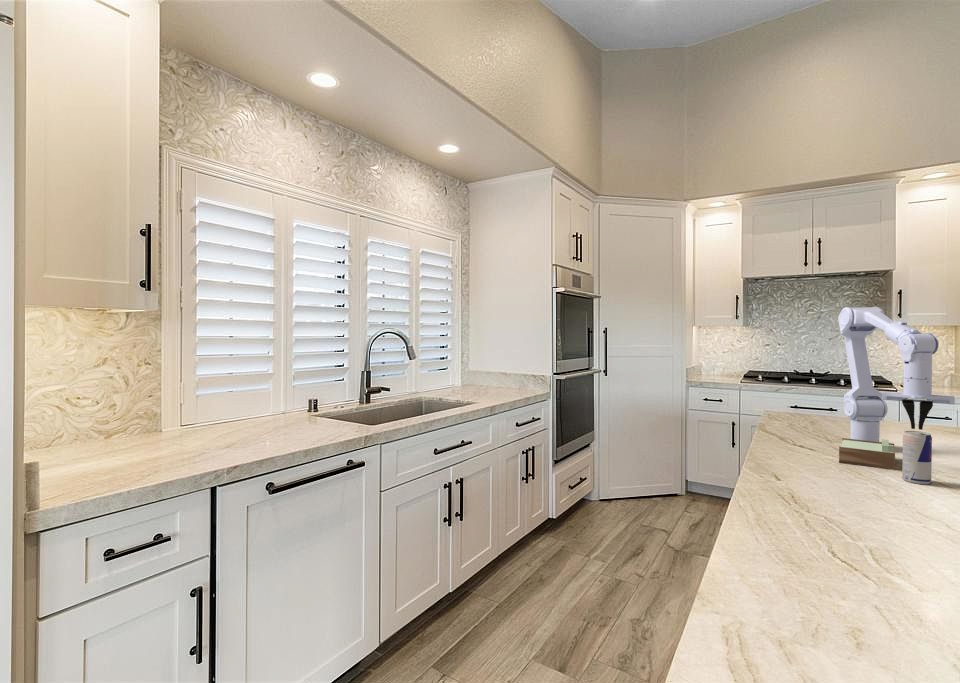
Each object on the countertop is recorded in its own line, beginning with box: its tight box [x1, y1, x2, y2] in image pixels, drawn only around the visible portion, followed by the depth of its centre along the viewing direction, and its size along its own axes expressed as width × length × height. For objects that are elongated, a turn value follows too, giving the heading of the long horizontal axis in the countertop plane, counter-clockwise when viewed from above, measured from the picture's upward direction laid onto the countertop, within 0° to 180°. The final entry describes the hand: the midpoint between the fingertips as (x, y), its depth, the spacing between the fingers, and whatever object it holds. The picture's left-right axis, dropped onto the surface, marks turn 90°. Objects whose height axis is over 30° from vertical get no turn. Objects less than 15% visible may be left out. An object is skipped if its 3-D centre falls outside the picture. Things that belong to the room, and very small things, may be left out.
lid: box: [840, 438, 895, 453], centre depth 140 cm, size 12×12×2 cm
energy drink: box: [901, 430, 933, 485], centre depth 122 cm, size 5×5×12 cm
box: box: [838, 437, 896, 471], centre depth 141 cm, size 14×12×4 cm
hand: (916, 428), depth 134 cm, fingers closed
